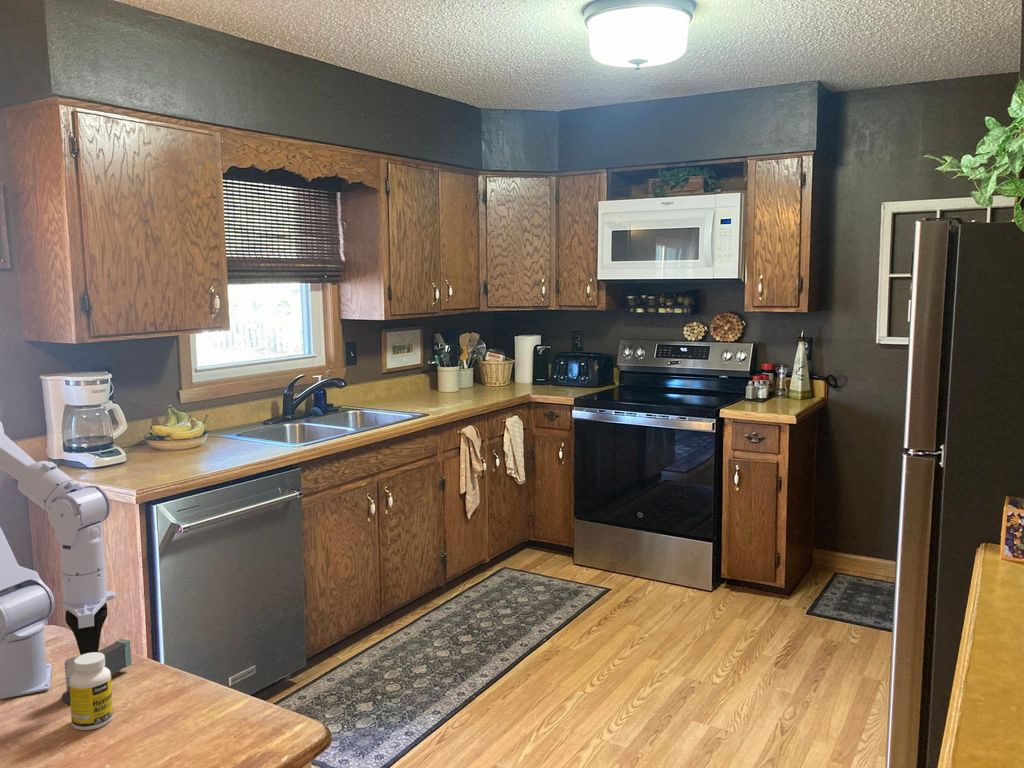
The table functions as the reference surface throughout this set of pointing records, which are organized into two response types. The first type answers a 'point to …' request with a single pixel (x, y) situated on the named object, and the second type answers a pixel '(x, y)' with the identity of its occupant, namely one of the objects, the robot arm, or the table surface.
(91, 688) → the supplement bottle
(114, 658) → the swing bar
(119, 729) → the table surface
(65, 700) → the pivot base
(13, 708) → the table surface
